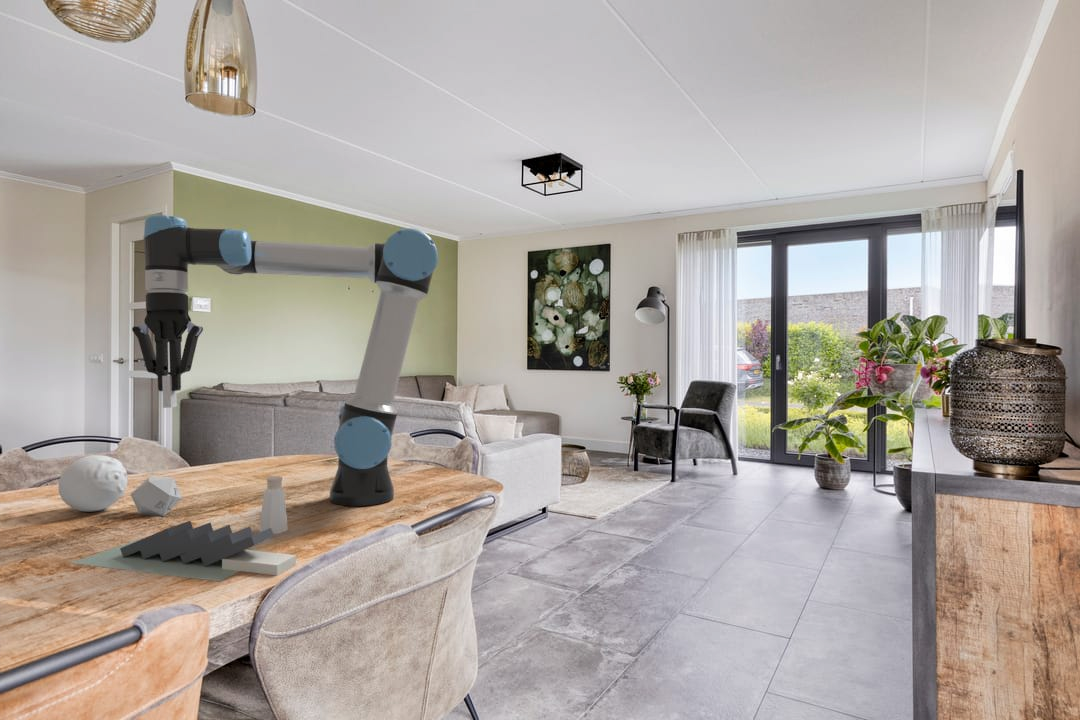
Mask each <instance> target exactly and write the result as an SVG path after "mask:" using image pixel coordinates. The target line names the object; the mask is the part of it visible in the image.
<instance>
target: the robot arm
mask: <svg viewBox="0 0 1080 720" xmlns="http://www.w3.org/2000/svg"><path fill="white" fill-rule="evenodd" d="M143 231H144V233H143V235H144V236H143V242H144V243H143V244H144V266H145V267H144V268H145V269H144V271H145V272H144V273H145V274H144V276H145V278H144V280H145V290H146V291H147V293H146V294H145V311H146V316H145V317H144V319H143V320H144V322H142V323H140V325H138V326H132V328H131V330H132V332H133V334H134V335H135V336H136V338H137V340H138V343H139V344H138V345H139V348H140V351H141V354H142V357H143V361H144V364H145V367H146V371H147V372H148V373H152V374H155V375H156V376H157V390H158V391H159V392H162V408H163V409H165V408H167V409H168V408H169V409H170V408H176V407H178V402H177V401H178V400H177V397H178V396H177V392H178V391H181V389H182V380H181V379H182V377H181V376H182V375H183V374H184V373H188V372H190V371H192V370H191V369H192V365H193V360H194V357H195V353H196V348H197V344H198V339H199V337H200V335H201V334H202V333H203V331H204V328H203V327H202V326H201V325H197V324H195V323H193V322H192V319H191V317H190V315H189V310H190V309H189V306H190V305H189V295H188V294H187V293H188V292H189V276H188V275H189V274H188V273H189V272H188V271H189V270H188V268H189V265H195V266H196V265H202V266H216V267H218V268H220V269H221V270H222V271H224V272H226V273H227V274H231V275H243V274H244V275H245V274H262V275H263V274H265V275H284V276H285V275H286V276H289V275H290V276H305V277H306V276H308V277H309V276H310V277H327V278H328V277H329V278H330V277H331V278H347V279H348V278H351V279H354V278H355V279H369V280H370V281H371V282H372V283H373V284H376V285H377V287H378V289H379V290H380V291H379V292H380V293H379V298H378V301H377V305H376V309H375V312H374V313H375V314H374V316H373V317H374V318H373V321H372V325H371V328H370V329H371V330H370V333H369V337H368V339H367V344H366V348H365V352H364V356H363V360H362V365H361V367H360V372H359V376H358V379H357V384H356V387H355V390H354V391H355V392H354V395H353V396H352V397H349V399H346V400H345V401H344V405H341V407H340V409H339V414H338V421H339V425H338V429H337V431H336V433H335V435H334V441H333V444H334V450H335V453H336V455H337V456H338V461H337V470H336V473H335V475H334V478H333V481H332V484H331V486H330V490H329V501H330V502H331V503H333V504H337V505H341V506H354V507H355V506H357V507H358V506H373V505H379V504H384V503H385V504H386V503H387V502H390V501H392V500H393V499H394V496H395V495H394V494H395V489H394V486H393V485H394V484H393V480H392V478H391V475H390V471H389V468H388V467H389V466H388V459H389V458H388V455H389V453H390V451H391V449H392V436H393V433H394V428H395V424H396V422H397V421H396V420H397V416H398V410H397V409H396V407H395V406H394V399H395V396H396V392H397V388H398V384H399V381H400V376H401V373H402V370H403V369H402V368H403V364H404V361H405V358H406V357H405V356H406V353H407V348H408V344H409V342H410V338H411V337H410V336H411V333H412V328H413V325H414V320H415V317H416V312H417V310H418V309H417V308H418V306H419V305H418V304H419V302H420V301H422V300H424V299H425V298H426V297H428V293H429V289H430V286H431V281H432V278H433V273H434V271H435V269H436V268H437V265H438V262H439V254H438V248H437V246H436V244H435V242H434V240H433V239H432V238H431V237H430V236H429V235H428V234H426V233H425V232H423V231H422V230H419V229H416V228H410V227H409V228H402V229H399V230H397V231H395V232H394V233H392V234H391V235H389V237H388V238H387V239H386V241H385V242H384V243H379V242H378V243H376V242H374V243H372V244H370V246H355V245H353V246H352V245H351V246H350V245H335V244H317V243H298V242H282V241H264V240H261V241H260V240H251V237H250V235H249V233H248V231H246V230H242V229H241V230H240V229H233V228H226V229H225V228H194V227H189V226H188V225H187V220H185V219H184V218H182V217H179V216H175V215H173V216H172V215H167V214H166V215H164V214H163V215H162V214H161V215H160V214H159V215H158V214H155V215H150V216H148V217H147V218H146V219H145V220H144V230H143ZM185 331H187V336H186V338H185V342H184V343H185V344H184V346H183V347H184V348H183V352H182V341H183V336H182V335H183V334H184V333H185ZM150 332H152V334H153V337H154V343H155V349H154V346H153V344H152V339H151V337H150V334H149V333H150ZM168 343H169V344H168Z"/></svg>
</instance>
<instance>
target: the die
mask: <svg viewBox="0 0 1080 720" xmlns="http://www.w3.org/2000/svg"><path fill="white" fill-rule="evenodd" d="M130 496H131V499H132V501H133V504H134V505H135V507H136V509H137V512H138V514H139V515H142V516H152V517H165V516H166V515H167V514H168V513H169V512H170V511H171V510H172V509H174V507H175V506H176V505H177V504H178V503H179V502H180V501H181V500H182V499H183V496H182V494H181V492H180V490H179V488H178V485H177V483H176V481H175V478H174V476H172V477H170V476H169V477H168V476H165V477H164V476H149V477H147V478H146V480H144V481H143V482H142V483H141V484H139V486H137V488H136V489H134V490H133V491H132V492H131V493H130Z"/></svg>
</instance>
